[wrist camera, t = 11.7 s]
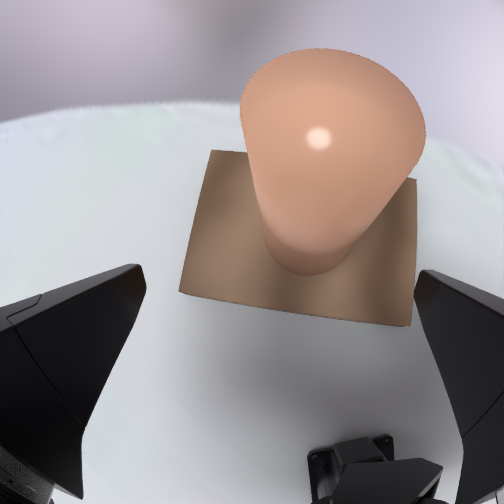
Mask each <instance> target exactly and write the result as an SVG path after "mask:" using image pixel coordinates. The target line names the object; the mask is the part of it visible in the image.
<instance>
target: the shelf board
mask: <svg viewBox="0 0 504 504" xmlns="http://www.w3.org/2000/svg"><path fill="white" fill-rule="evenodd" d="M416 248H417V184H416V179H413V178H408V177H407V178H406V179H405V180H404V182H403V183H402V184H401V186H400V187H399V188H398V190H397V191H396V192H395V194H394V195H393V196H392V198H391V199H390V200H389V202H388V203H387V204H386V206H385V207H384V208H383V210H382V211H381V212H380V213H379V215H378V216H377V217H376V219H375V220H374V221H373V222H372V224H371V225H370V226H369V227H368V229H367V230H366V231H365V233H364V234H363V235H362V236H361V237H360V239H359V240H358V241H357V242H356V244H355V245H354V246H353V247H352V249H351V250H350V251H349V252H348V253H347V255H346V256H345V257H344V258H343V260H342V261H341V262H340V263H339V264H338V265H337V266H335V267H334V268H333V269H331V270H329V271H327V272H325V273H322V274H317V275H300V274H296V273H293V272H291V271H289V270H287V269H285V268H283V267H282V266H281V265H279V264H278V263H277V262H276V261H275V260H274V258H273V257H272V256H271V254H270V253H269V251H268V249H267V246H266V243H265V238H264V233H263V228H262V223H261V218H260V213H259V208H258V203H257V198H256V193H255V188H254V183H253V178H252V173H251V168H250V163H249V158H248V153H245V152H234V151H222V150H211V153H210V157H209V161H208V165H207V169H206V172H205V176H204V180H203V184H202V188H201V192H200V196H199V200H198V205H197V209H196V213H195V217H194V221H193V226H192V230H191V235H190V239H189V243H188V248H187V253H186V257H185V262H184V267H183V271H182V276H181V281H180V286H179V292H181V293H184V294H187V295H191V296H197V297H202V298H207V299H213V300H218V301H224V302H229V303H235V304H241V305H247V306H253V307H259V308H265V309H271V310H277V311H284V312H290V313H297V314H304V315H311V316H318V317H325V318H332V319H340V320H347V321H355V322H363V323H372V324H380V325H389V326H399V327H404V326H410V323H411V315H412V306H413V295H414V283H415V269H416Z"/></svg>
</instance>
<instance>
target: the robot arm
mask: <svg viewBox="0 0 504 504" xmlns="http://www.w3.org/2000/svg"><path fill="white" fill-rule="evenodd" d="M145 294H146V282H145V278H144V274H143V270H142V267H141V266H140V265H139V264H127V265H124V266H121V267H118V268H115V269H112V270H109V271H106V272H103V273H100V274H97V275H94V276H91V277H88V278H85V279H83V280H80V281H77V282H74V283H71V284H68V285H65V286H62V287H60V288H57V289H54V290H51V291H48V292H45V293H43V294H39V295H36V296H33V297H30V298H27V299H24V300H22V301H19V302H16V303H13V304H10V305H7V306H3V307H0V504H54V502H53V500H52V499H51V496H52V493H53V490H54V488H56V489H58V490H60V491H62V492H64V493H67V494H69V495H71V496H74V497H76V498H78V499H81V500H82V499H83V479H82V448H81V446H82V437H83V433H84V430H85V427H86V426H87V423H88V421H89V419H90V417H91V414H92V412H93V410H94V407H95V405H96V403H97V401H98V398H99V396H100V394H101V392H102V390H103V388H104V385H105V383H106V381H107V379H108V377H109V375H110V373H111V370H112V368H113V366H114V364H115V362H116V360H117V358H118V356H119V354H120V352H121V350H122V348H123V346H124V344H125V342H126V340H127V338H128V336H129V334H130V332H131V330H132V328H133V325H134V323H135V321H136V318H137V315H138V313H139V310H140V307H141V304H142V302H143V299H144V296H145ZM414 300H415V303H416V306H417V309H418V313H419V316H420V320H421V323H422V327H423V330H424V333H425V335H426V338H427V340H428V343H429V345H430V348H431V350H432V353H433V355H434V358H435V360H436V363H437V366H438V368H439V371H440V374H441V377H442V379H443V382H444V385H445V388H446V391H447V394H448V397H449V400H450V403H451V406H452V409H453V412H454V415H455V418H456V422H457V425H458V428H459V432H460V435H461V438H462V443H463V451H464V454H463V463H462V469H461V475H460V481H459V487H458V492H457V497H456V501H455V504H481V503H483V502H486V501H488V500H491V499H493V498H495V497H496V502H497V504H504V299H502V298H500V297H497V296H495V295H493V294H490V293H488V292H486V291H483V290H481V289H478V288H476V287H474V286H471V285H469V284H466V283H464V282H461V281H459V280H456V279H454V278H451V277H449V276H446V275H444V274H441V273H439V272H436V271H434V270H422V271H421V272H420V274H419V277H418V280H417V283H416V286H415V290H414ZM386 439H389V440H388V442H387V443H384V441H385V440H386ZM314 455H316V456H317V458H316V459H312V458H311V457H312V456H314ZM307 460H308V468H309V477H310V485H311V494H312V503H311V504H448V503H447V502H445V501H442V500H436V499H434V496H435V493H436V490H437V487H438V484H439V481H440V477H441V474H442V470H443V467H442V466H440V465H438V464H435V463H433V462H430V461H428V460H425V459H423V458H413V459H405V460H395V461H394V444H393V438H392V437H391V436H390V435H388V434H385V435H382V436H378V437H374V438H368V437H364V438H360V439H356V440H351V441H347V442H342V443H337V444H335V445H334V446H333V447H330V448H325V449H320V450H314V451H311V452H309V453H308V455H307Z"/></svg>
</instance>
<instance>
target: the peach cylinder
mask: <svg viewBox="0 0 504 504" xmlns="http://www.w3.org/2000/svg"><path fill="white" fill-rule="evenodd" d="M240 119H241V124H242V129H243V134H244V139H245V143H246V148H247V153H248V158H249V163H250V168H251V173H252V178H253V183H254V188H255V193H256V198H257V203H258V208H259V213H260V218H261V223H262V228H263V233H264V238H265V243H266V246H267V249H268V251H269V253H270V254H271V256H272V257H273V258H274V260H275V261H276V262H277V263H278V264H279V265H281V266H282V267H283V268H285V269H287V270H289V271H291V272H293V273H296V274H300V275H317V274H322V273H325V272H327V271H329V270H331V269H333V268H334V267H335V266H337V265H338V264H339V263H340V262H341V261H342V260H343V258H344V257H345V256H346V255H347V253H348V252H349V251H350V250H351V249H352V247H353V246H354V245H355V244H356V242H357V241H358V240H359V239H360V237H361V236H362V235H363V234H364V233H365V231H366V230H367V229H368V227H369V226H370V225H371V224H372V222H373V221H374V220H375V219H376V217H377V216H378V215H379V213H380V212H381V211H382V210H383V208H384V207H385V206H386V204H387V203H388V202H389V200H390V199H391V198H392V196H393V195H394V194H395V192H396V191H397V190H398V188H399V187H400V186H401V184H402V183H403V182H404V180H405V179H406V178H407V176H408V175H409V174H410V172H411V171H412V169H413V168H414V167H415V165H416V164H417V163H418V161H419V159H420V157H421V155H422V152H423V149H424V145H425V138H426V130H425V122H424V118H423V115H422V112H421V109H420V107H419V105H418V103H417V101H416V99H415V98H414V96H413V95H412V93H411V92H410V90H409V89H408V88H407V87H406V86H405V85H404V83H403V82H401V81H400V80H399V79H398V78H397V77H396V76H395V75H394V74H392V73H391V72H390V71H389V70H387V69H386V68H384V67H383V66H381V65H379V64H378V63H375V62H374V61H372V60H370V59H367V58H365V57H362V56H360V55H357V54H353V53H350V52H346V51H341V50H334V49H305V50H299V51H294V52H291V53H288V54H285V55H282V56H280V57H277V58H275V59H274V60H272V61H270V62H268V63H267V64H265V65H264V66H263V67H261V68H260V69H259V70H258V71H257V72H256V73H255V74H254V75H253V76H252V78H251V79H250V80H249V81H248V83H247V85H246V87H245V89H244V91H243V94H242V97H241V102H240Z"/></svg>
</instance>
